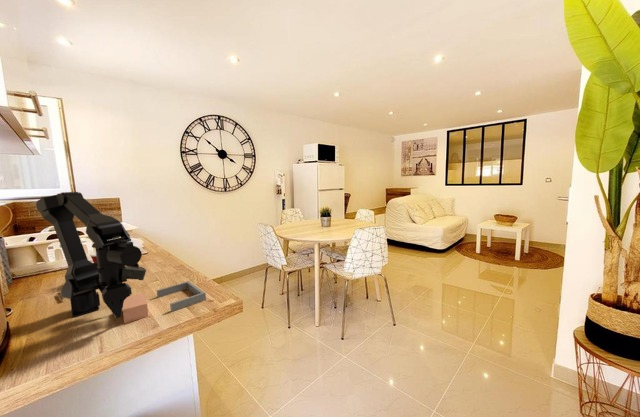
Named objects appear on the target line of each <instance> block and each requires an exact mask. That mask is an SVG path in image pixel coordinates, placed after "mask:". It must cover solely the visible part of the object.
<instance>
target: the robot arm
mask: <svg viewBox="0 0 640 417" xmlns="http://www.w3.org/2000/svg"><path fill="white" fill-rule="evenodd" d="M35 207H36V209H37V211H38V212H40V214H41V217H42V218H43V219H44V220H45V221H47V222H49V223H50V224H51V225H52V226H53V228H54V231H55V234H56V236H57V239H58V242H59V244H60V245H59V246H60V248H61V249H62V252H63V255H64V258H65V261H66V264H67V269H66V272H65V275H64V280H65V282H64V284H63V285H62V287H61V289H60V292H61V294H62V297H65V298H68V300H69V301H70V308H71V309H70V313H71V317H72V318H75V317H79V316H82V315H85V314H89V313H92V312H95V311H99V310H100V306H101V301H100V293H101V296H102V301H103V303H104V304H105V305H106V306H107V307H108V309H109V310H110V311H111V313H112V314H113V316H115V318H120V317H121V316H122V314H123V303H124V300H125V299H126V298H127V297H129V296H132V292H133V291H132V287H131V285H129V283H126V282H128V280H138V281H144V280H145V276H146V273H147V269H145V267H143V266H139V262H140V261H141V258H142V256H143V254H142V250H141V249H140V248H139V247H137V246H135V245H134V242H133V241H132V239H131V235H130V233H128V231H127V230H126V228H125V227H124V225H123V224H122V222H121V221H120V220H118V219H117V218H114V217H113V216H111V215H107V214H103V213H102V212H100V211H99V210H98V209H97V208H96V207H95V206H93V204H91V203H90V202H89V201H88V200H86V199H85V198H84V195H83V194H82V193H81V192H78V191H68V192H67V191H65V192H60V193H57V194H55V195H54V194H53V195H49V196H47V195H46V196H41V197H40V199H38V200H37V201H36V205H35ZM74 217H76V218H77V219H78V220H79V221H80V222H81V223H82V224H83V225H84V226H85V227H86V228H85V233H86V236H87V237H88V238H89V239H90V241H92V242H93V244H91V248H93V249H95V252H96V257H97V263H94V262H93V261H90V260H89V259H88V256H87V253H86V251H85V248H84V246H83V242H82V240H81V237H80V235H79V231H78V228H77V227H76V225H75V222H74ZM98 290H99V292H100V293H99V292H98Z"/></svg>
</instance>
